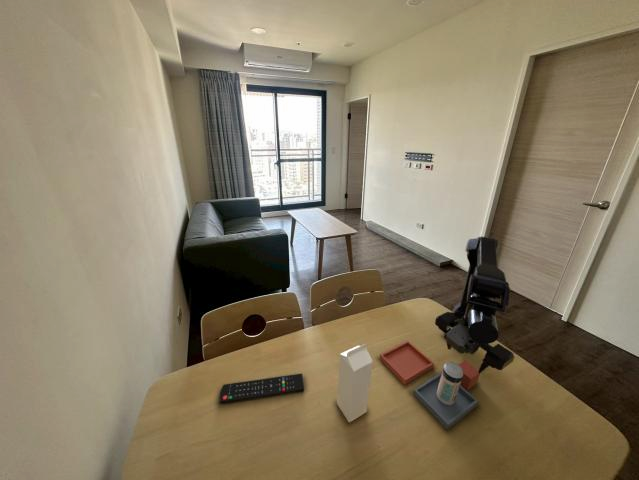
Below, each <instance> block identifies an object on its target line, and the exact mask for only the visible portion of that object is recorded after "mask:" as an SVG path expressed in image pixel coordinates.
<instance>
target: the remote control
mask: <svg viewBox="0 0 639 480" xmlns="http://www.w3.org/2000/svg"><path fill="white" fill-rule="evenodd" d="M303 379H304V378H303V373H294V374H289V375H281V376H274V377H267V378H259V379H254V380H247V381H239V382H232V383H226V384H223V385H222V387H221V388H220V391H219V402H220V404H226V403H233V402H240V401H246V400H251V399H252V400H253V399H258V398H259V399H260V398H265V397H271V396H277V395H284V394H285V395H286V394H290V393H291V394H292V393H298V392H303V391H304V392H305V386H304V380H303Z"/></svg>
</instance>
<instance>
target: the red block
mask: <svg viewBox="0 0 639 480" xmlns="http://www.w3.org/2000/svg"><path fill="white" fill-rule="evenodd" d="M457 364H458V363H457ZM458 365H459V366H460V367H461V368H462V371H463V377H462V380H461V383H460V386H461V387H463V388H464V389H465V390H466V391H469V390H470V389H472V388H473V387H474V386H476V385H477V384H478V381H479V378H480V375H481V373H480V374H479V373H478V371H479V369H477V368H476V367H475V366H473V365H472V364H471V363H470V362H468V361H467V360H463V361H461V362H460V363H459V364H458Z"/></svg>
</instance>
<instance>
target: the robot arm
mask: <svg viewBox="0 0 639 480" xmlns="http://www.w3.org/2000/svg"><path fill="white" fill-rule="evenodd" d="M500 246H501V244H500V243H499V240H498V239H496V238H493V237H488V236H477V237H475V238H468V240H467V242H466V246H465V252H466V259H467V261H468V264H469V265H468V269H467V273H466V277H465V282H464V286H463V289H462V293H461V297H460V300H459V302H458V303H457V304H456V305H454V306H453V309H452V311H446V312H443V313H441V314H439V315H437V316H436V317H435V320H434V325H435V326H436V327H438V329H439V330H440V331H441V332H442V333H443V334H444V335H443V338H444V339H445V342H446V348H447V350H451V349H452V348H453V349H454V350H456V352H457V353H459V354H464V353H465V354H470V355H475V353H476V352H477V351H478V350H479V349H482V350H483V351H485V354H484V358H482V359H481V361H482V363H481V364H480V366H479V368H478V370H479V371H478V373H479V374H480V375H481V373H483V372H484V371H485V370H487V369H488V368H489V367H490V368H492V369H496V370H497V371H503V370H504V369H505V368H507V367H508V366H509V365H510V364H512V363H514V360H515V354H514V353H513V351H511V350H509V349H507V348H506V347H505V346H503V345H502V344H500V343H497V344H495V345H492V343H494V342H496V341H498V339H499V329H498V323H497V318H496V312H500V313H505V311H506V307H509V303H510V292H511V287H510V283H509V282H508V281H507V278H506V275H505V274H506V273H505V272H504V271H502V269H500V268H499V266H498V257H497V256H498V255H499V252H500V251H499V250H500ZM496 300H500V301H496Z"/></svg>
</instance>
